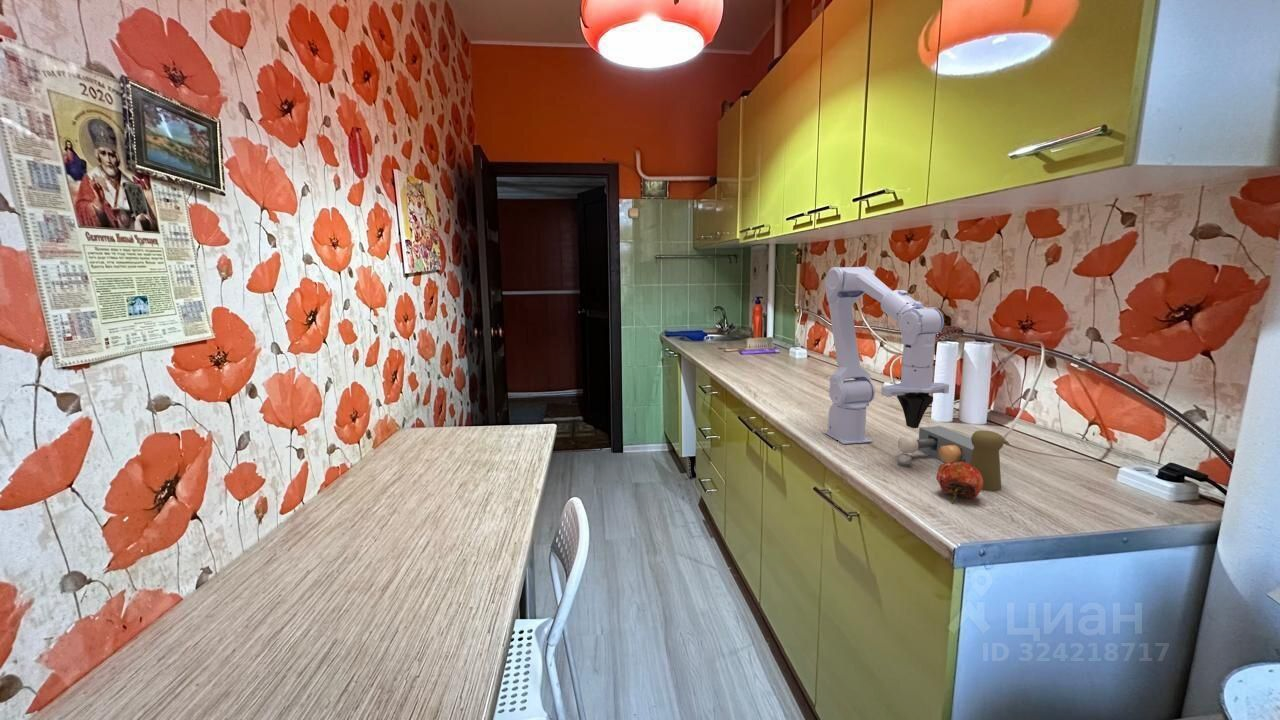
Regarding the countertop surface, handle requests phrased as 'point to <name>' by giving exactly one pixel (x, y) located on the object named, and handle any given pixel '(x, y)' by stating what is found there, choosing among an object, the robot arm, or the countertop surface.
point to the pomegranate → (960, 479)
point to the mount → (946, 441)
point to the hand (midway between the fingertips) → (912, 426)
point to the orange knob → (950, 453)
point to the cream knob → (915, 444)
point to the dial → (904, 460)
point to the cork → (987, 458)
